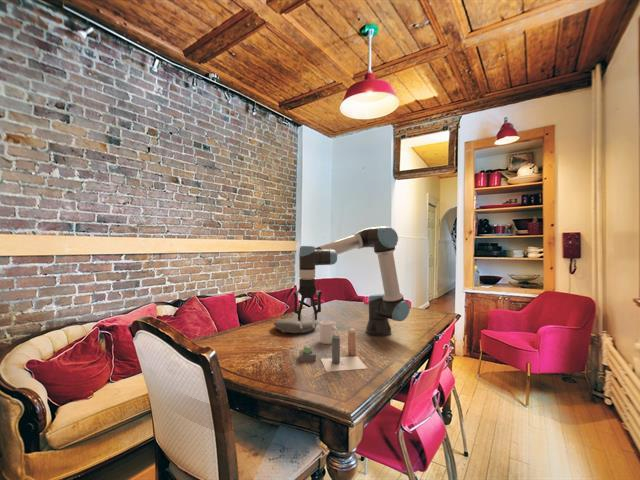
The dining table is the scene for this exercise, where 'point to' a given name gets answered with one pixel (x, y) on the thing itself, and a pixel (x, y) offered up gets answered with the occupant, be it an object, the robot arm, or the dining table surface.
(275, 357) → the dining table surface
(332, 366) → the paper
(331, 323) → the mug
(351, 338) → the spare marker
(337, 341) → the marker
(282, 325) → the flat disc
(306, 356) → the button base
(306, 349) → the button
